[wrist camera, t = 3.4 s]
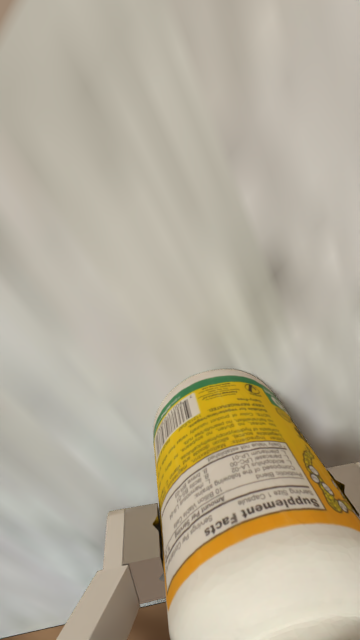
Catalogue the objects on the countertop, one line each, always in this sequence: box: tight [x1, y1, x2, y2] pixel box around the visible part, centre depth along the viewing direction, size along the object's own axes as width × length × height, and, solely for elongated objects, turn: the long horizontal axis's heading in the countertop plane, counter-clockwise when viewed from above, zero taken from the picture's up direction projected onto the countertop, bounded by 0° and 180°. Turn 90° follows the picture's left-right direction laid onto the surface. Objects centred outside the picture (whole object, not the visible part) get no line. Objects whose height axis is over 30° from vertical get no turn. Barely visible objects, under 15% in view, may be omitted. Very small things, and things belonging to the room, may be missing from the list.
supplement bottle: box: [153, 369, 360, 640], centre depth 9 cm, size 5×5×10 cm
